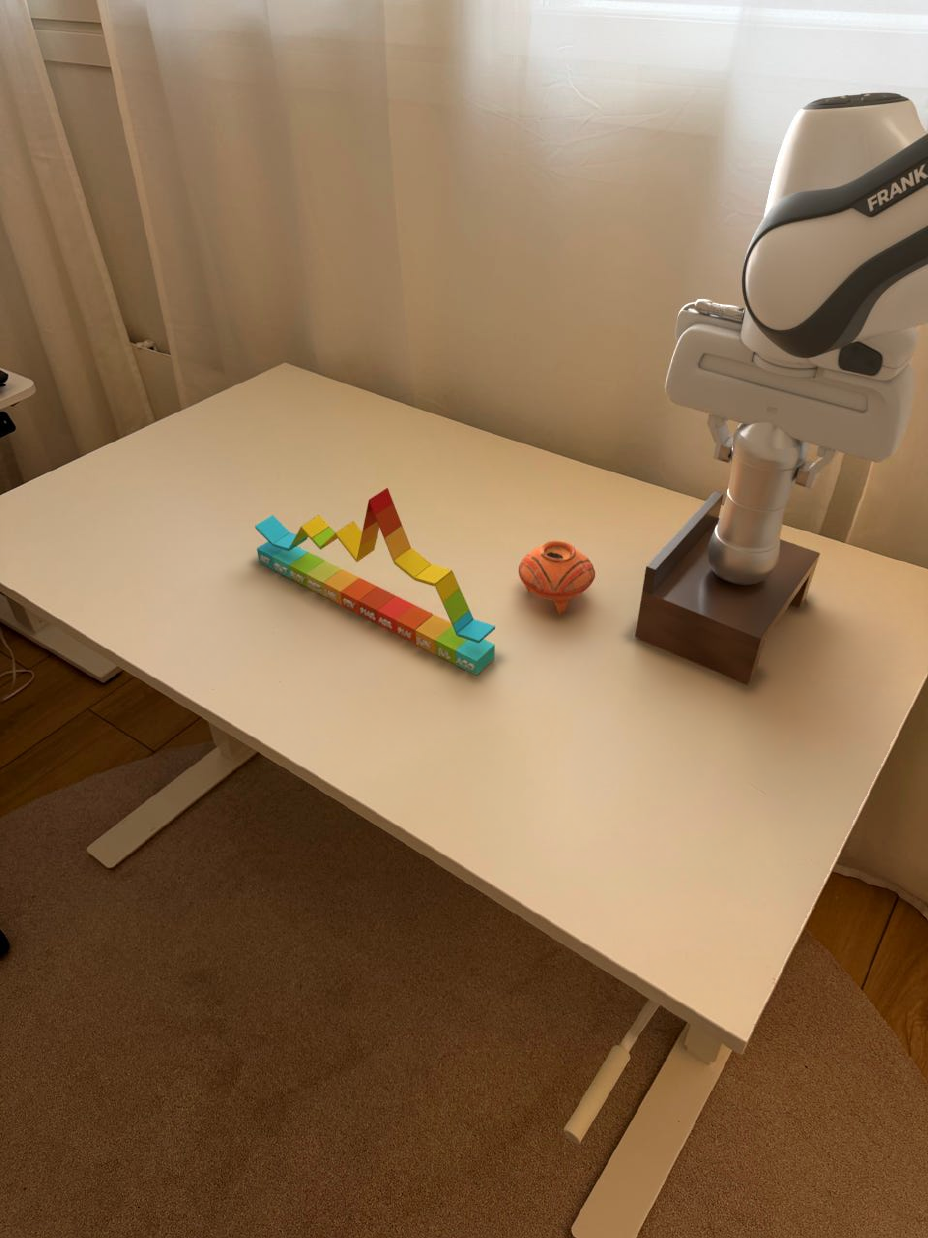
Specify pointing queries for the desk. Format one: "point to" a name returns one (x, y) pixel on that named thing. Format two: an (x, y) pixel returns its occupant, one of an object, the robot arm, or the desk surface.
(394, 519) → the chart
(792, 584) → the shelf
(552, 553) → the pot
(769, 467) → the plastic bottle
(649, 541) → the desk surface
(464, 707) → the desk surface
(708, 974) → the desk surface
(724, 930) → the desk surface
